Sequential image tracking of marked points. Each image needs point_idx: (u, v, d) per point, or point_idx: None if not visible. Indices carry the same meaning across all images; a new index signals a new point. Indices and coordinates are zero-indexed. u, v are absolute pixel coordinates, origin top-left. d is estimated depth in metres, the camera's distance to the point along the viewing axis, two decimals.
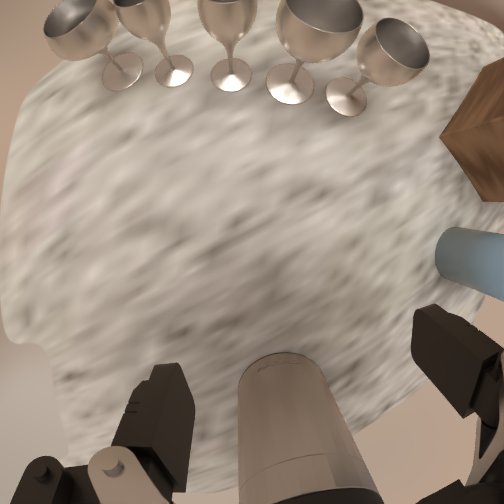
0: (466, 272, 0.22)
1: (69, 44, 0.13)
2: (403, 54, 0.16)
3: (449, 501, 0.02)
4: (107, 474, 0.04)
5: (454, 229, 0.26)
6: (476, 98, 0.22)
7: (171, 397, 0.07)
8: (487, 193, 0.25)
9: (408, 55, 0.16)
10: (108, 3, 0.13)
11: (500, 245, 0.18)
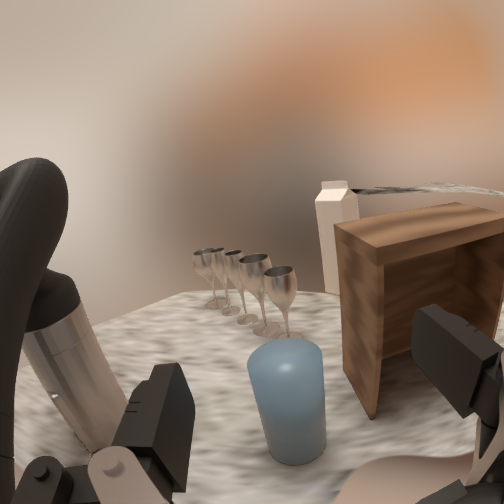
0: None
1: (195, 260, 0.59)
2: (296, 289, 0.42)
3: (449, 501, 0.02)
4: (107, 474, 0.04)
5: None
6: None
7: (171, 397, 0.07)
8: (367, 402, 0.27)
9: None
10: None
11: None
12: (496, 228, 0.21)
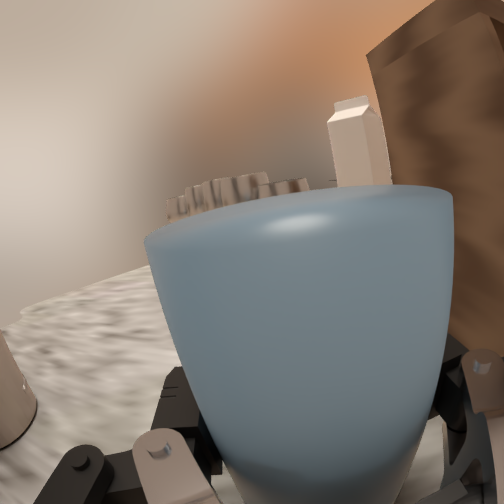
0: None
1: (169, 206, 0.42)
2: None
3: (449, 501, 0.02)
4: (155, 456, 0.04)
5: None
6: None
7: None
8: None
9: None
10: None
11: None
12: None
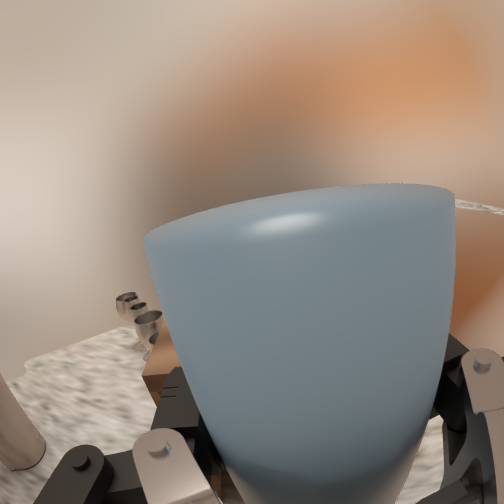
0: None
1: (117, 305, 0.54)
2: None
3: (449, 501, 0.02)
4: (155, 456, 0.04)
5: None
6: None
7: None
8: None
9: None
10: None
11: None
12: None
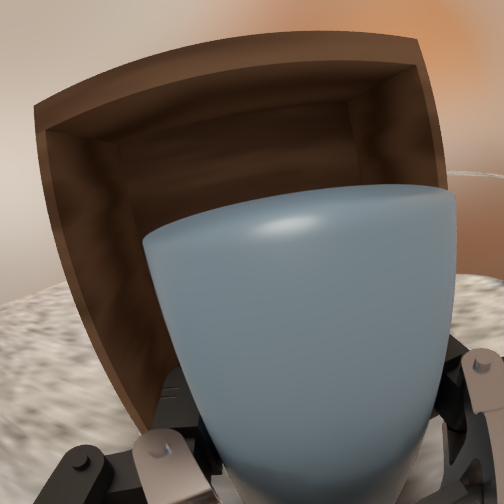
0: None
1: None
2: None
3: (449, 501, 0.02)
4: (155, 456, 0.04)
5: None
6: None
7: None
8: None
9: None
10: None
11: None
12: (370, 49, 0.09)
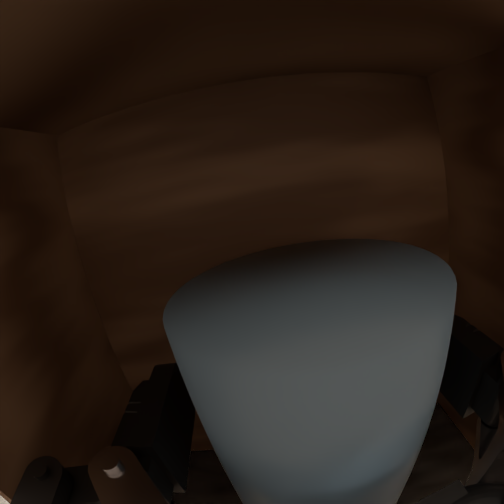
0: None
1: None
2: None
3: (449, 501, 0.02)
4: (107, 474, 0.04)
5: None
6: None
7: (171, 397, 0.07)
8: None
9: None
10: None
11: None
12: None
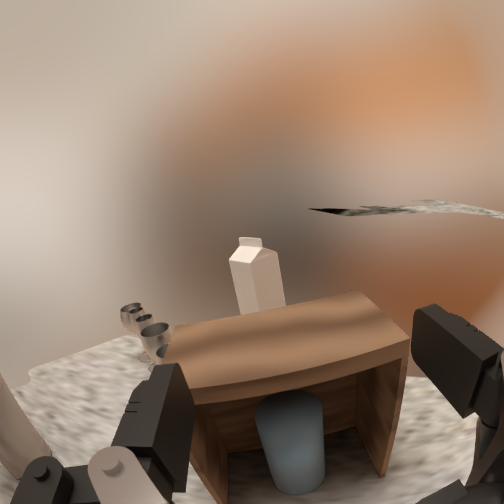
0: None
1: (121, 316, 0.54)
2: None
3: (449, 501, 0.02)
4: (107, 474, 0.04)
5: None
6: None
7: (171, 397, 0.07)
8: None
9: None
10: None
11: None
12: (372, 361, 0.18)
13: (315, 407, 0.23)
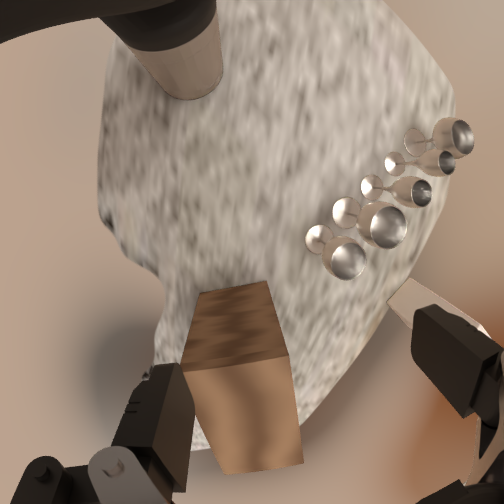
0: None
1: (446, 124, 0.28)
2: (336, 272, 0.34)
3: (449, 501, 0.02)
4: (107, 474, 0.04)
5: None
6: None
7: (171, 397, 0.07)
8: (207, 295, 0.41)
9: (335, 272, 0.34)
10: (453, 155, 0.29)
11: None
12: None
13: None
